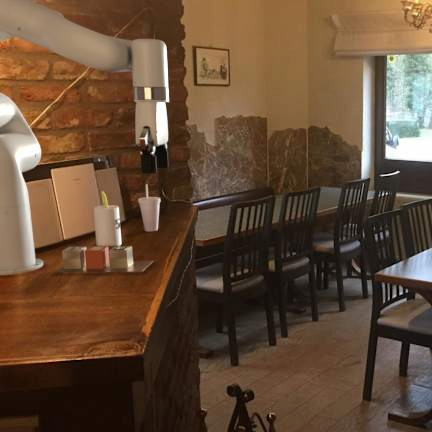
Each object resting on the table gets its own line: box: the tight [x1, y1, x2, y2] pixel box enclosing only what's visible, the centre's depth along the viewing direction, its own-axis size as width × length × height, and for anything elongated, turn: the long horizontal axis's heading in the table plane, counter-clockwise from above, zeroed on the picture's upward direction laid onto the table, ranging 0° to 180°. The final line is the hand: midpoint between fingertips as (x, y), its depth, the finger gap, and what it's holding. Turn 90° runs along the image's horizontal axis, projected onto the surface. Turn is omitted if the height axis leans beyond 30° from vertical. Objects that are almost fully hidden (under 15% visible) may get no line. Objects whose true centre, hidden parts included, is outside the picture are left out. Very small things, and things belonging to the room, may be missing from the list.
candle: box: [92, 190, 122, 247], centre depth 170 cm, size 6×6×15 cm
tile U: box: [109, 245, 134, 269], centre depth 149 cm, size 4×4×4 cm
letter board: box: [56, 260, 154, 273], centre depth 150 cm, size 20×9×1 cm, turn 94°
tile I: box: [61, 246, 88, 269], centre depth 149 cm, size 4×4×4 cm
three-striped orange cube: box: [85, 246, 110, 269], centre depth 149 cm, size 4×4×4 cm
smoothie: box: [137, 183, 162, 232], centre depth 188 cm, size 6×6×14 cm
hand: (155, 170), depth 146 cm, fingers open, 9 cm apart
